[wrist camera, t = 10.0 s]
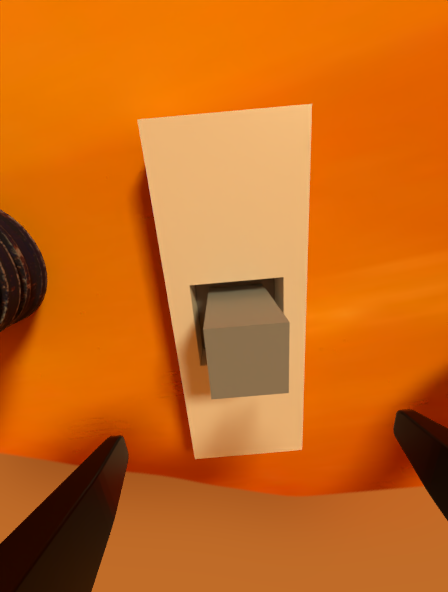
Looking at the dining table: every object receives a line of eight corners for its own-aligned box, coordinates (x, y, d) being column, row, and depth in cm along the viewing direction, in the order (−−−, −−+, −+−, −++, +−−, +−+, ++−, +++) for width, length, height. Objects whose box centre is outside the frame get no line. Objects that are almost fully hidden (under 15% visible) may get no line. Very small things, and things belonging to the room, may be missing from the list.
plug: (261, 283, 17) (289, 322, 11) (263, 331, 18) (288, 393, 12) (208, 287, 17) (203, 329, 11) (213, 335, 18) (211, 399, 12)
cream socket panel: (291, 129, 15) (311, 103, 12) (289, 416, 22) (302, 449, 19) (155, 142, 15) (137, 119, 12) (198, 424, 22) (194, 459, 19)
